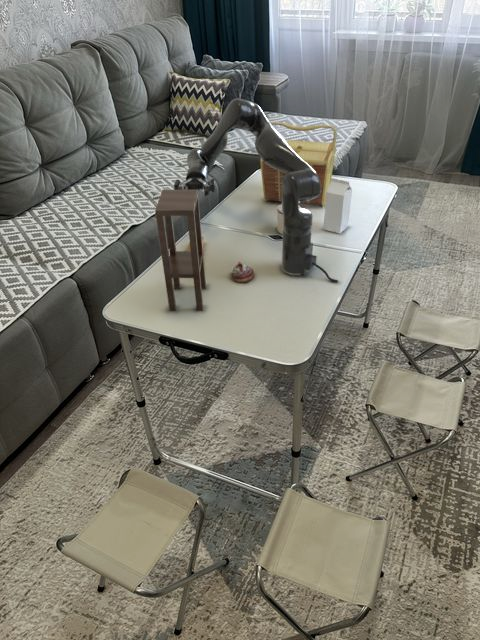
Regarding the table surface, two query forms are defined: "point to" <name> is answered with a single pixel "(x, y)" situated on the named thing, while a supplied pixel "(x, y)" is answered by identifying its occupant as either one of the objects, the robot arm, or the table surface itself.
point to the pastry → (242, 273)
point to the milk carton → (337, 205)
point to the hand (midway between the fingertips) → (193, 193)
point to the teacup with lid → (280, 219)
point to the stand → (178, 261)
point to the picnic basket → (310, 153)
